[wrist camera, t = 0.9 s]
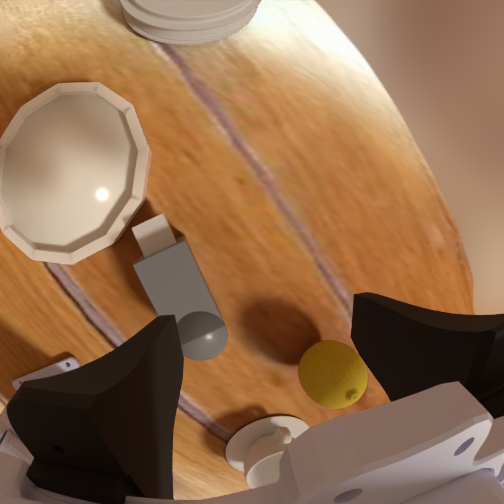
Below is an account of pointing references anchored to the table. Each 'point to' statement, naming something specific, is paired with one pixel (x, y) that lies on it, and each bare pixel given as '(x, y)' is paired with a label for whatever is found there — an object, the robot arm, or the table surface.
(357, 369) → the lemon
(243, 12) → the lid
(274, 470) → the teacup
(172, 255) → the connector
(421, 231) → the table surface
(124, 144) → the plate
